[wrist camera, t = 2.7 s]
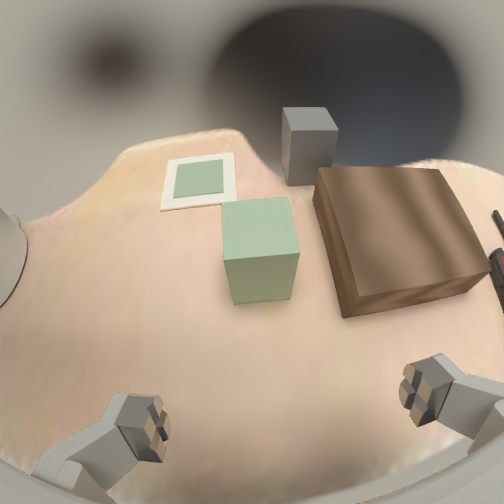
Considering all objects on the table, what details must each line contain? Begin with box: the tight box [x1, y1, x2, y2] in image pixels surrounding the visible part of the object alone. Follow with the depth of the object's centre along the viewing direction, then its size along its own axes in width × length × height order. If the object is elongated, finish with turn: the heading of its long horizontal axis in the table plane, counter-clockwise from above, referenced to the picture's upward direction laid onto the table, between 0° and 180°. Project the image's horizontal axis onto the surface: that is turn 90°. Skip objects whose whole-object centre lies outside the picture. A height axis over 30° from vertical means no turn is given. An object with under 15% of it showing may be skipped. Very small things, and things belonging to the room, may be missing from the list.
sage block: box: [221, 197, 300, 305], centre depth 23 cm, size 5×5×8 cm
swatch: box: [160, 152, 237, 211], centre depth 33 cm, size 9×9×1 cm
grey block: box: [281, 107, 339, 186], centre depth 30 cm, size 5×5×8 cm
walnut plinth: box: [313, 167, 492, 318], centre depth 25 cm, size 16×14×5 cm
